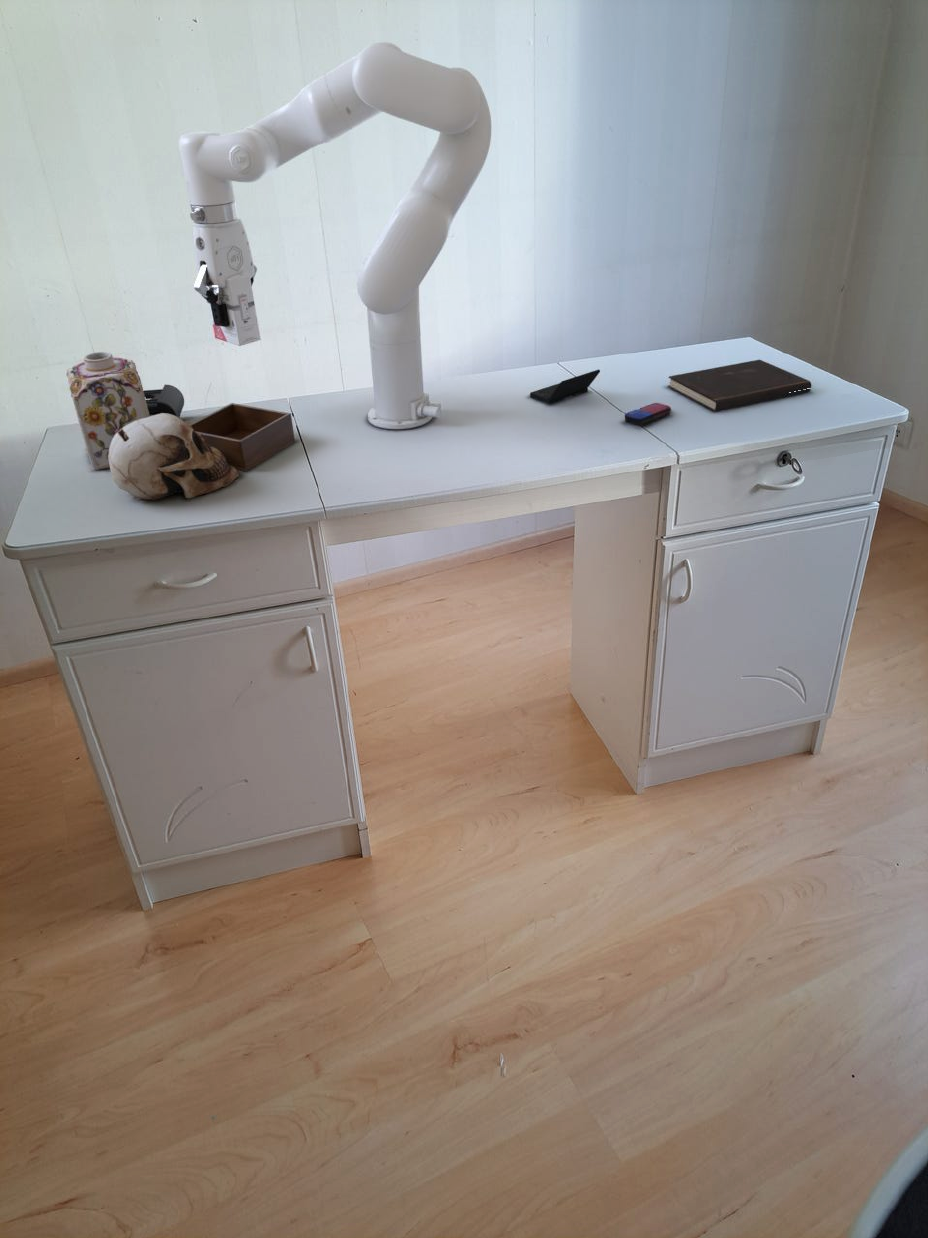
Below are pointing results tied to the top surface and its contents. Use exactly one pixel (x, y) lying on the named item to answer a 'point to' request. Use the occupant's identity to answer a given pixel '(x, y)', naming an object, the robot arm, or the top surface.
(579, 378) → the handheld gaming console
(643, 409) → the eraser
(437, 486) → the top surface
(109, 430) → the decorative jar
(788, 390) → the hardcover book
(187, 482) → the coin bank
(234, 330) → the ink box
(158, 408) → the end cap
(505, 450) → the top surface
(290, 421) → the desk box
